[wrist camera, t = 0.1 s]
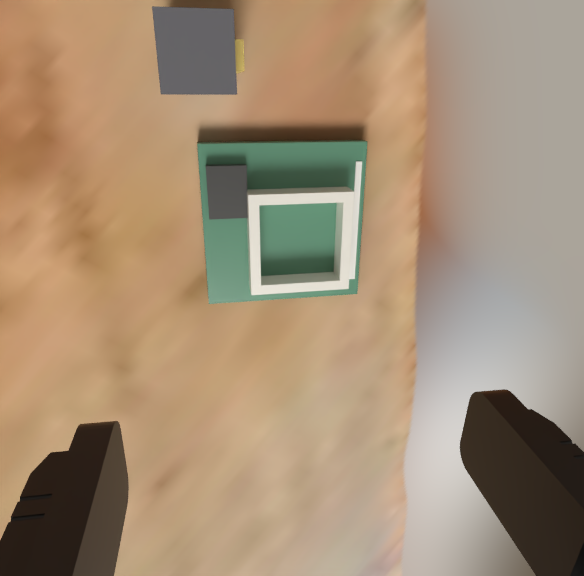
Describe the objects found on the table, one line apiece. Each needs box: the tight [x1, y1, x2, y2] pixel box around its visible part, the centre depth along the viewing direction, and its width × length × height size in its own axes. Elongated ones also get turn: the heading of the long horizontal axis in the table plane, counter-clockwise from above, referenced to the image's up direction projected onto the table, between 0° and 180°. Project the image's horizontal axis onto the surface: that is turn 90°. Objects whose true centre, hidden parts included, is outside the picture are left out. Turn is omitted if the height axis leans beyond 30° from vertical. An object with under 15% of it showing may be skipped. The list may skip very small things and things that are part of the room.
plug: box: [152, 7, 244, 94], centre depth 29 cm, size 4×5×10 cm
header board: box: [197, 140, 367, 304], centre depth 37 cm, size 13×13×3 cm
